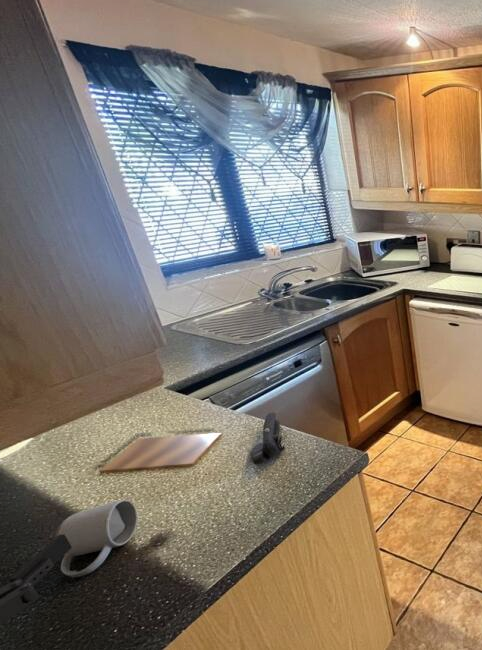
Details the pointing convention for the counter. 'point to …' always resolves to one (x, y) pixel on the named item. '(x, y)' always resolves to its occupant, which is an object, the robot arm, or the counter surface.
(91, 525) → the ceramic mug
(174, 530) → the counter surface
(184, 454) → the oak board
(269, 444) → the can opener
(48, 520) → the counter surface
